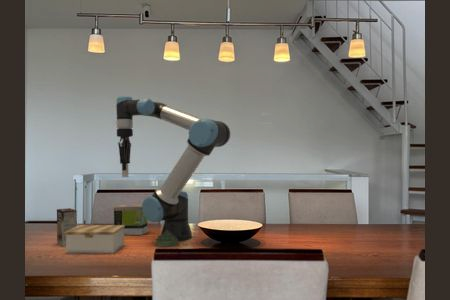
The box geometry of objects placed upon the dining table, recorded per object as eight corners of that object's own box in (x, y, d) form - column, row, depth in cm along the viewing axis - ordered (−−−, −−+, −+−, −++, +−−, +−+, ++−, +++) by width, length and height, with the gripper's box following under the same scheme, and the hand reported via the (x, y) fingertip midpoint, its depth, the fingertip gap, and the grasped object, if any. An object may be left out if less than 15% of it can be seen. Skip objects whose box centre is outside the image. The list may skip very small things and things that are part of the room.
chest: (123, 245, 173) (123, 227, 173) (113, 253, 159) (112, 234, 159) (80, 245, 174) (80, 228, 174) (66, 253, 160) (66, 234, 160)
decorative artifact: (154, 243, 177) (156, 248, 168) (154, 228, 178) (156, 232, 168) (176, 241, 180) (179, 246, 171) (176, 226, 180) (179, 230, 171)
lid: (125, 229, 174) (125, 224, 174) (113, 237, 158) (113, 232, 158) (80, 229, 175) (80, 225, 175) (63, 237, 159) (63, 232, 159)
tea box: (148, 231, 204) (147, 204, 205) (142, 235, 194) (141, 206, 195) (120, 231, 206) (120, 204, 206) (113, 235, 196) (113, 206, 196)
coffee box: (56, 243, 179) (56, 209, 179) (70, 241, 183) (70, 207, 183) (62, 247, 172) (62, 211, 172) (77, 244, 176) (76, 209, 176)
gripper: (121, 129, 193) (122, 176, 192) (112, 127, 180) (112, 177, 179) (136, 129, 192) (136, 176, 192) (128, 127, 179) (128, 177, 179)
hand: (125, 177), depth 186 cm, fingers closed
